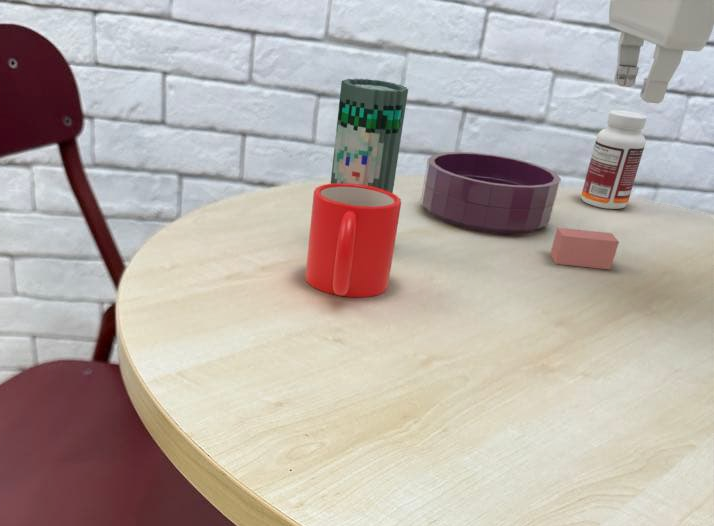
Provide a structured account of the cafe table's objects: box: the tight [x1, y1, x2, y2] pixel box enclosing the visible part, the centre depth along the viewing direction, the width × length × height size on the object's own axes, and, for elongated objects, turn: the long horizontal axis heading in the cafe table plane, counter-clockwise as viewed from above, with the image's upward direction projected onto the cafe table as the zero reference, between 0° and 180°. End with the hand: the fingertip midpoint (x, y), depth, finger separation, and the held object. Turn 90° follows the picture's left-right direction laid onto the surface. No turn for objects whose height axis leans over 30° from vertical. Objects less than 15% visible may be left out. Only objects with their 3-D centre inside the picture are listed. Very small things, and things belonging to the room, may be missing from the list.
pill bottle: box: [580, 109, 648, 210], centre depth 111 cm, size 6×6×11 cm
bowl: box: [420, 151, 562, 235], centre depth 102 cm, size 16×16×6 cm
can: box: [330, 78, 409, 194], centre depth 85 cm, size 6×6×15 cm
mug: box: [305, 183, 402, 298], centre depth 76 cm, size 8×12×8 cm, turn 174°
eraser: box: [549, 226, 620, 271], centre depth 91 cm, size 6×3×3 cm, turn 88°
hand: (636, 93), depth 82 cm, fingers open, 8 cm apart
